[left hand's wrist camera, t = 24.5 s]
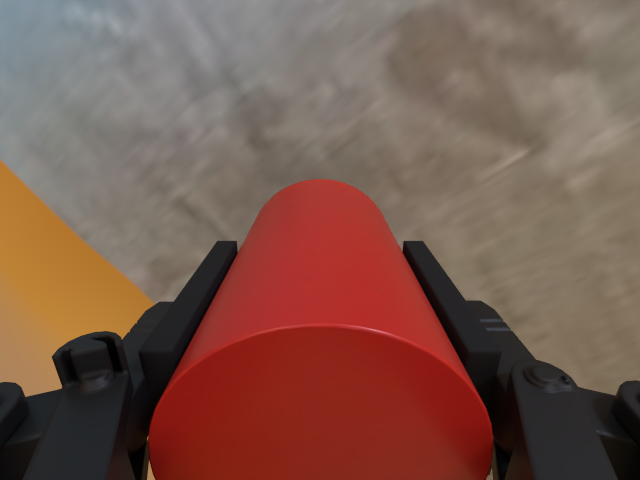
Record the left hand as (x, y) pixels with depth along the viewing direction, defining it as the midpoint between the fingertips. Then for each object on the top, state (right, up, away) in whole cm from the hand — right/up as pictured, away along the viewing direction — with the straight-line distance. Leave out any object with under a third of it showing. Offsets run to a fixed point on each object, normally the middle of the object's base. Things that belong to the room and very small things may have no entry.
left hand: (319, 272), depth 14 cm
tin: (0, +1, +3) cm, 3 cm away
